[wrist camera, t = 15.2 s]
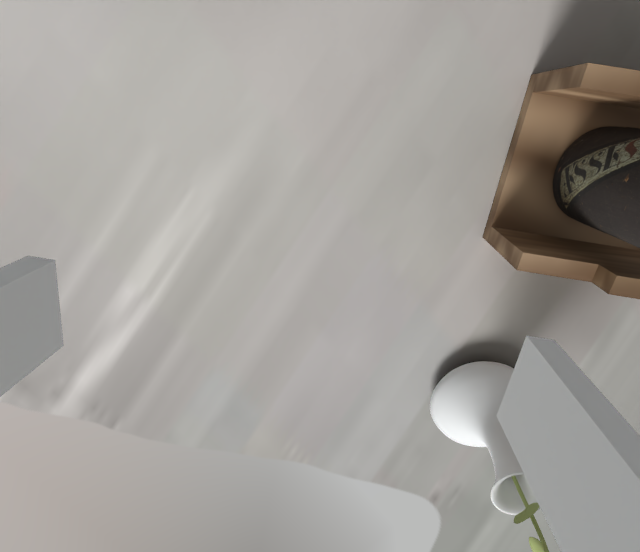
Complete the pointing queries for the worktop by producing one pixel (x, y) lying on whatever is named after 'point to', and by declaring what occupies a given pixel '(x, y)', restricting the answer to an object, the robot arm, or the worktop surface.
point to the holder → (538, 170)
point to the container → (602, 181)
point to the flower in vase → (486, 433)
